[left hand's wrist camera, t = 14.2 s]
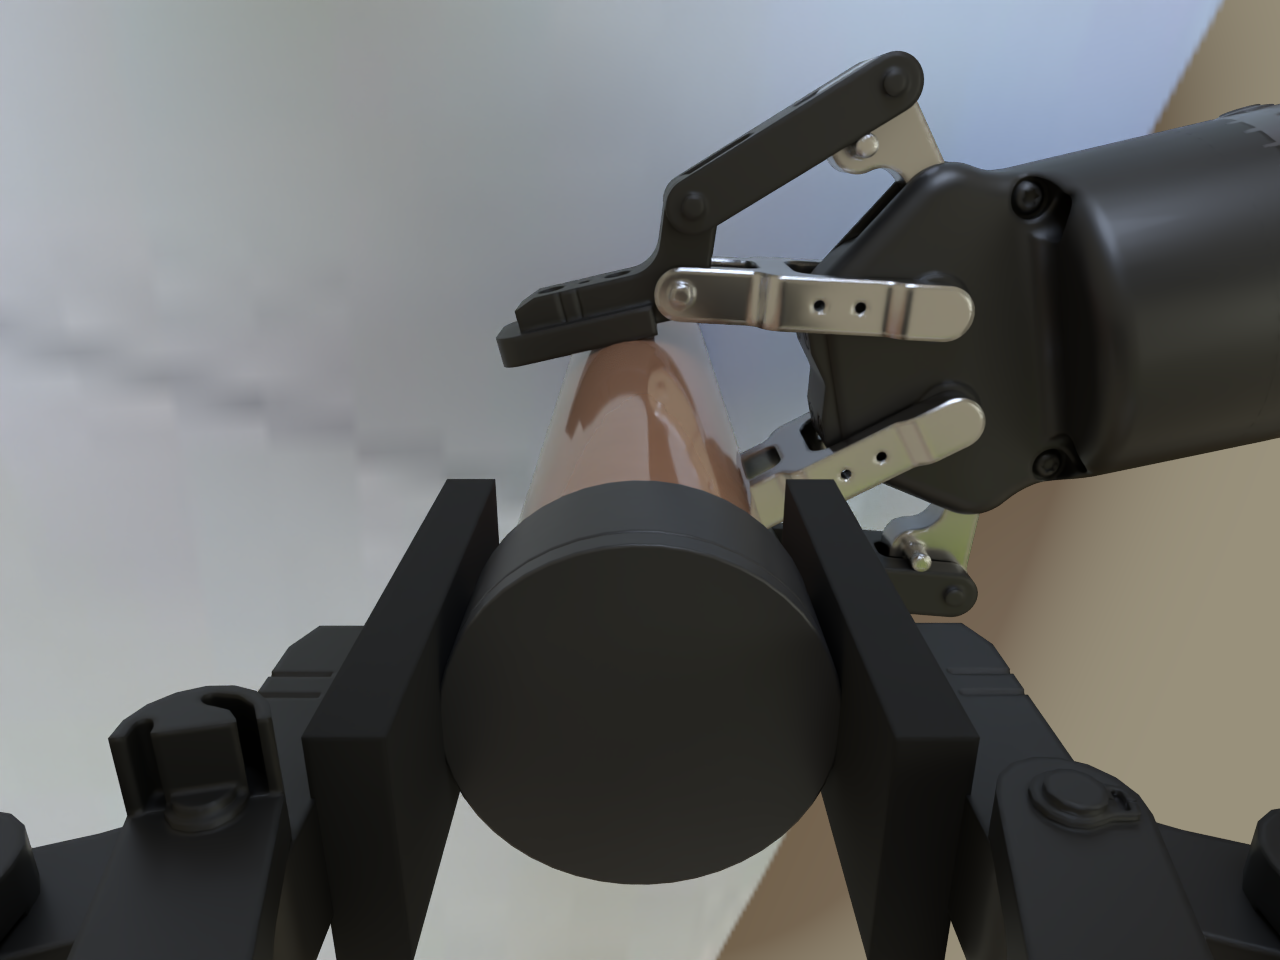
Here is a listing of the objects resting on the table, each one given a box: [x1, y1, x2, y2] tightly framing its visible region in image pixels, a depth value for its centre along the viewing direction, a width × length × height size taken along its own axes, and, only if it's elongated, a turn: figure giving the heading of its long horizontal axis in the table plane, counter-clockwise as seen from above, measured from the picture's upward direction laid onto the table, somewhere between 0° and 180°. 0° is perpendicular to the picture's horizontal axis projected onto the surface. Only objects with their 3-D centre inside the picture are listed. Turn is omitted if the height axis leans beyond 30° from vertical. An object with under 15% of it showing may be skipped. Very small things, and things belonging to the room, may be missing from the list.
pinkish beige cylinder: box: [518, 321, 763, 524], centre depth 20 cm, size 4×4×19 cm
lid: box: [440, 480, 841, 885], centre depth 11 cm, size 5×5×2 cm
